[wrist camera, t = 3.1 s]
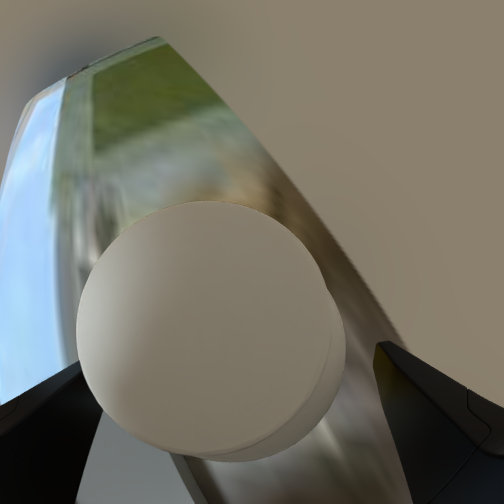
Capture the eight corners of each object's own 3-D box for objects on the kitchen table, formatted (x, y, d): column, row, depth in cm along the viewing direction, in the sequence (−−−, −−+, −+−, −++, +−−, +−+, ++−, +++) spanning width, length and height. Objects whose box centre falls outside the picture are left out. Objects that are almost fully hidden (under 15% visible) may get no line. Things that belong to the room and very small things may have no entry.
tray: (222, 527, 12) (216, 539, 10) (87, 537, 10) (75, 544, 9) (149, 372, 16) (137, 370, 15) (34, 408, 15) (18, 406, 14)
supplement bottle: (335, 361, 16) (457, 292, 4) (258, 445, 14) (207, 568, 3) (249, 291, 18) (200, 122, 7) (175, 369, 16) (5, 314, 5)
